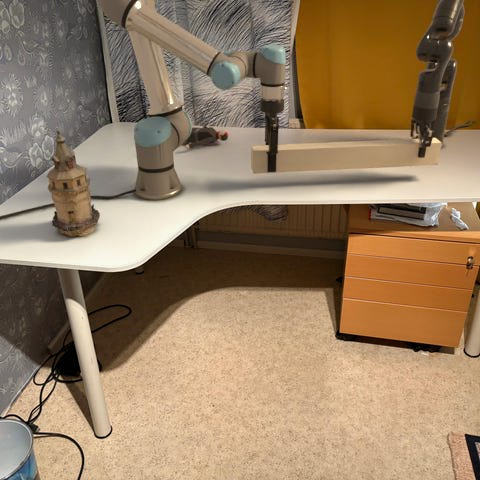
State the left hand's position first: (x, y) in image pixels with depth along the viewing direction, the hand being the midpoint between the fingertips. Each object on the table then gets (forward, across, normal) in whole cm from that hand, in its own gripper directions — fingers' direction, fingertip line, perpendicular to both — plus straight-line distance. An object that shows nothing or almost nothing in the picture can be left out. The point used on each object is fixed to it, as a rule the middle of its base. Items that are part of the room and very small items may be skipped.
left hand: (270, 168), depth 178 cm
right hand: (-3, 0, -50) cm, 50 cm away
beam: (0, 0, -25) cm, 25 cm away
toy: (+7, +47, +26) cm, 54 cm away
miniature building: (+7, -24, +60) cm, 65 cm away
